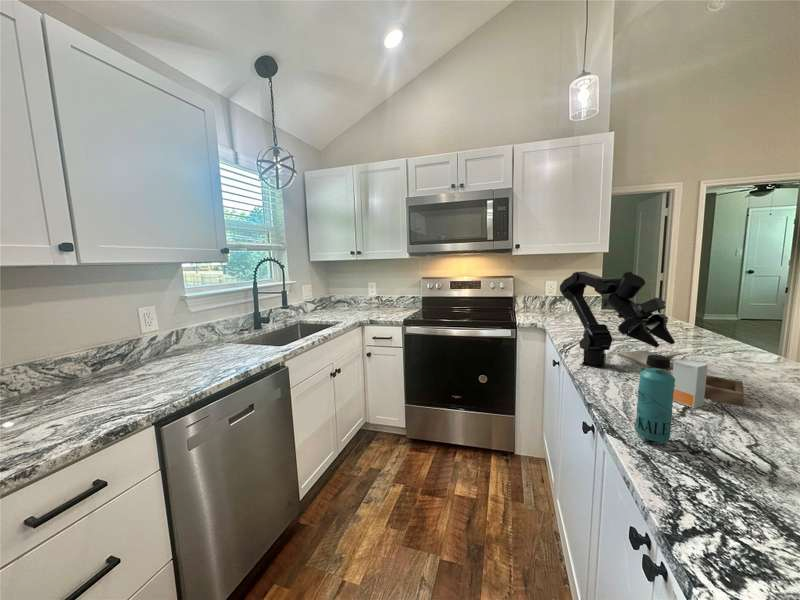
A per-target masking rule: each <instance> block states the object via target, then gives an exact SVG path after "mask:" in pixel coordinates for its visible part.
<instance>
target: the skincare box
mask: <svg viewBox="0 0 800 600" xmlns="http://www.w3.org/2000/svg"><path fill="white" fill-rule="evenodd" d="M673 361H674V364H673V369H672V374H671V375H672V376H673V377H674V378H675V384H674V394H673V402H675V401H676V402H675V403H677V402H678V404H680V405H683V406H685V405H686V407H688V406H689V408H691V407H692V408H691V409H693V408H696V409H698V408H697V407H699V408H702V407H704V403H705V399H704V395H705V385H706V376H707V374H708V364H706V363H702V362H697V361H695V360H689V359H685V358H680V359H676V360H675V359H674V360H673ZM701 406H702V407H701Z"/></svg>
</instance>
